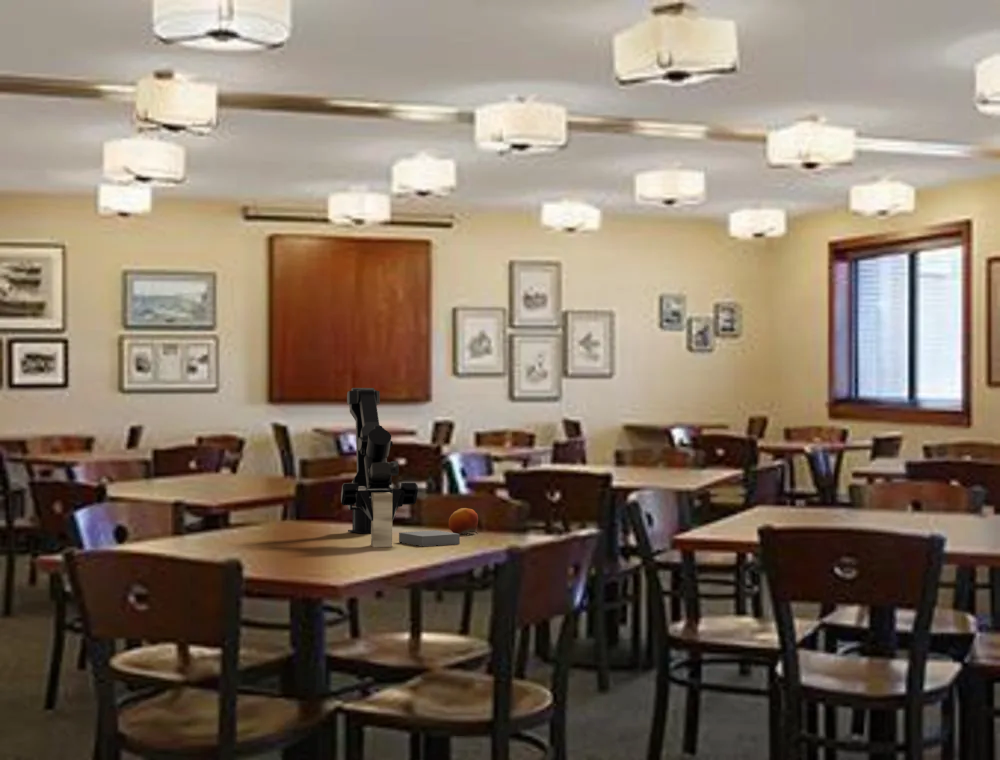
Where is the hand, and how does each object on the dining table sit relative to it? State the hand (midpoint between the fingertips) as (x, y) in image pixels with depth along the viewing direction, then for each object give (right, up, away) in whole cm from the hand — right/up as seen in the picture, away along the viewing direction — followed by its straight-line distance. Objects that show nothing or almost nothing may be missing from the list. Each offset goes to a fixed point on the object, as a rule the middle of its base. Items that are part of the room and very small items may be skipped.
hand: (382, 519), depth 347 cm
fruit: (+19, -7, +33) cm, 39 cm away
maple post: (0, -7, +1) cm, 7 cm away
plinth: (+11, -7, +8) cm, 15 cm away
